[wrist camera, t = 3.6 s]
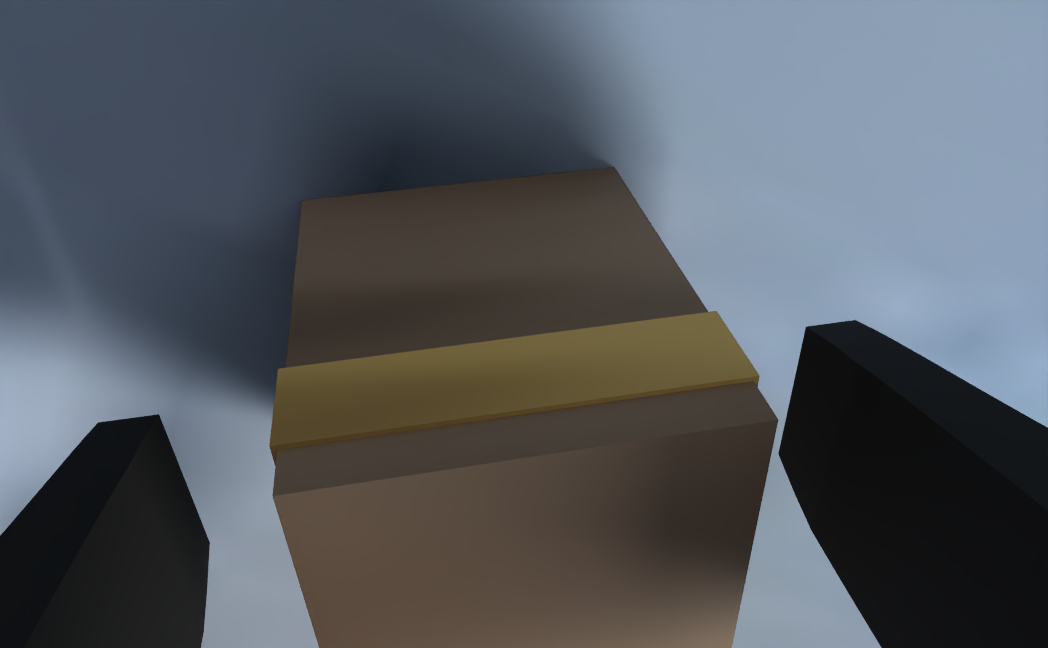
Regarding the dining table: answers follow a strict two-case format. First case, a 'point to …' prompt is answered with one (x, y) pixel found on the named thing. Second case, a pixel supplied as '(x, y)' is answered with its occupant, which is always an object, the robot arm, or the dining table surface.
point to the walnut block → (512, 424)
